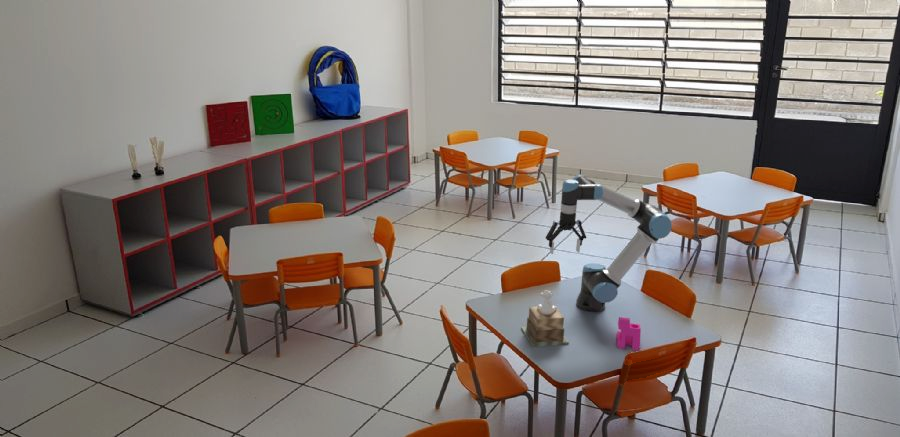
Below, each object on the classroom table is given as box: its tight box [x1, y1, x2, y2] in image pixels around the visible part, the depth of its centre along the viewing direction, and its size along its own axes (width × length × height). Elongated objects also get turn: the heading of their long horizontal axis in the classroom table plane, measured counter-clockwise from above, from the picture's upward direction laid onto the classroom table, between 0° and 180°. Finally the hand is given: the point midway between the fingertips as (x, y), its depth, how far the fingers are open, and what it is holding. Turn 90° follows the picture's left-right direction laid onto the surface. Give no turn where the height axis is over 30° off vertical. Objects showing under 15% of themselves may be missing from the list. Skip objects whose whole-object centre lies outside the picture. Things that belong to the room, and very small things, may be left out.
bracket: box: [616, 316, 642, 351], centre depth 341 cm, size 12×10×10 cm
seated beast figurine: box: [536, 289, 558, 315], centre depth 340 cm, size 10×9×12 cm
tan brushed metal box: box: [521, 304, 570, 348], centre depth 345 cm, size 18×18×13 cm
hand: (564, 252), depth 352 cm, fingers open, 13 cm apart
